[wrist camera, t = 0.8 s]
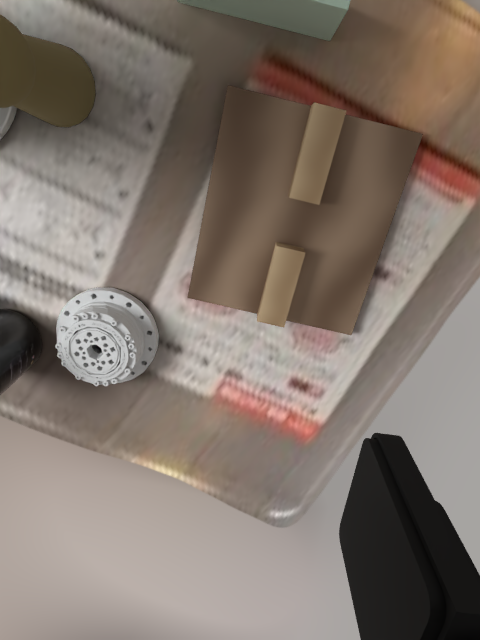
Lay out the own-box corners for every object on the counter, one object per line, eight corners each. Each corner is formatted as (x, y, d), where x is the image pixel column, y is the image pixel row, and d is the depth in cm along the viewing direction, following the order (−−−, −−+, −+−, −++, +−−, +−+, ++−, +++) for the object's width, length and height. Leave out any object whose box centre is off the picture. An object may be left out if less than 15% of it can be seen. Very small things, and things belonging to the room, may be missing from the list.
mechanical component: (169, 370, 43) (147, 279, 39) (159, 392, 39) (133, 293, 35) (79, 381, 44) (49, 293, 40) (60, 404, 40) (25, 308, 36)
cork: (65, 143, 35) (-17, 135, 25) (8, 85, 34) (-104, 50, 23) (110, 88, 33) (43, 54, 23) (52, 24, 32) (-48, -42, 22)
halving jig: (189, 294, 39) (184, 304, 37) (228, 87, 33) (225, 80, 30) (349, 331, 40) (355, 343, 37) (418, 134, 34) (432, 132, 31)
